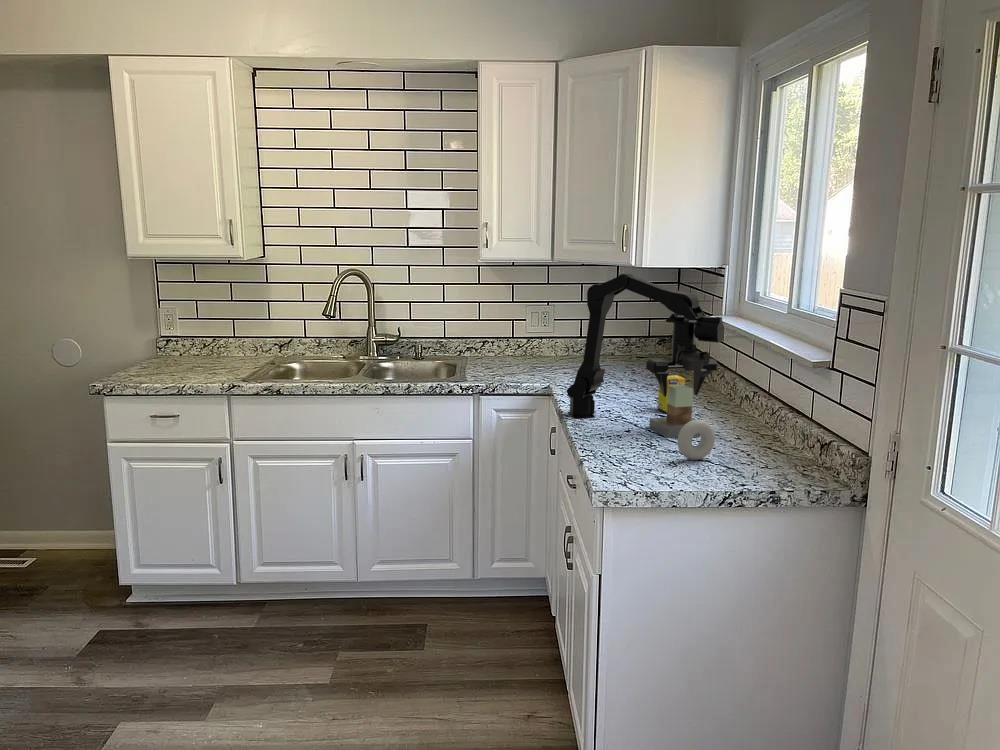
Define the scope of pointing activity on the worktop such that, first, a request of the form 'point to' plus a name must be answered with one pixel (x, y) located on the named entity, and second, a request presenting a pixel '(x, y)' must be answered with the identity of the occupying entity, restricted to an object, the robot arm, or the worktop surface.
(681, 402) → the sage block
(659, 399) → the supplement box
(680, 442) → the donut
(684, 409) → the walnut block
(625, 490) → the worktop surface
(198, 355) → the worktop surface
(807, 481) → the worktop surface
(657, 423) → the block
